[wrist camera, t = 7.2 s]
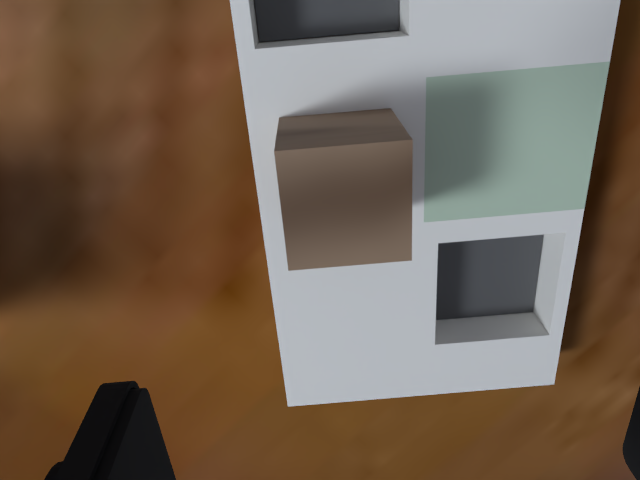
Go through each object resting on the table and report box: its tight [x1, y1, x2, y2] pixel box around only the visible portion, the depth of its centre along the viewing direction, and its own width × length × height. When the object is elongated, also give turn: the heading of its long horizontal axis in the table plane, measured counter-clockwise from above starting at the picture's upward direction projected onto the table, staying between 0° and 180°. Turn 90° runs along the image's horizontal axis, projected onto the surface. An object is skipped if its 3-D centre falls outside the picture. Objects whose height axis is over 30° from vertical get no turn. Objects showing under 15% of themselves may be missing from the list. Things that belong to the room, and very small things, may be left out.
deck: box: [230, 0, 621, 407], centre depth 25 cm, size 29×16×4 cm, turn 4°
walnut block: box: [274, 108, 413, 271], centre depth 22 cm, size 5×5×5 cm
